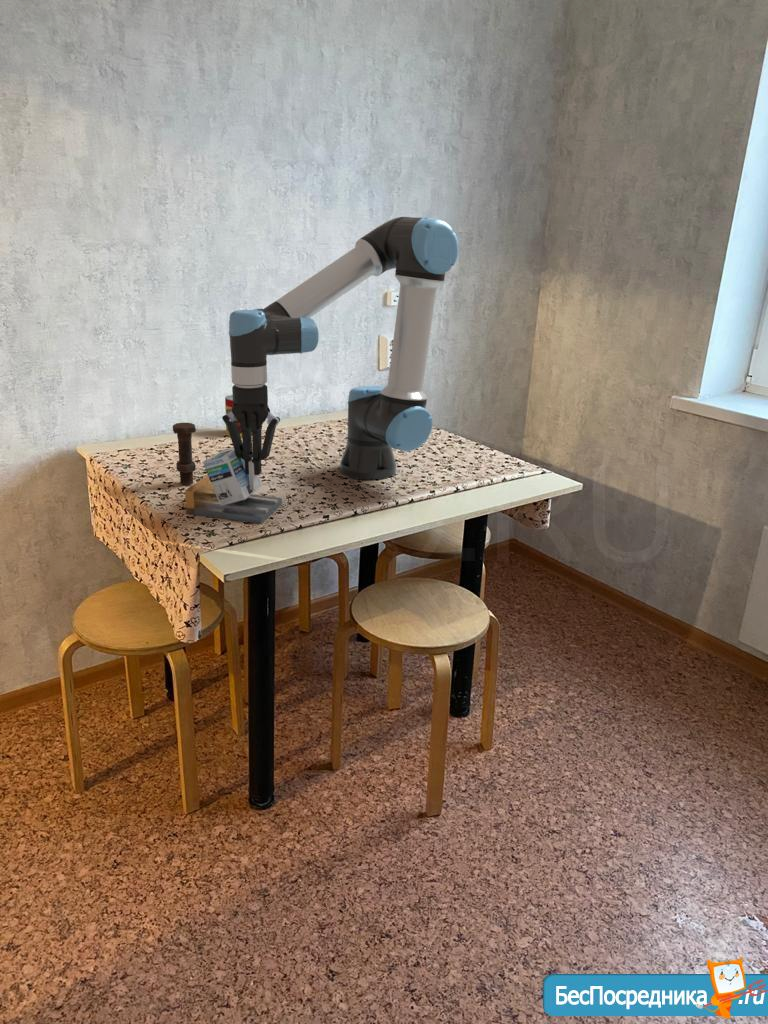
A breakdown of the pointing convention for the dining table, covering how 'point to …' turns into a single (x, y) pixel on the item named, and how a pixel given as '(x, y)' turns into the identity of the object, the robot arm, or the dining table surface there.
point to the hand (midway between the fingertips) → (253, 487)
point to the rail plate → (248, 510)
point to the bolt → (185, 451)
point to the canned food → (228, 409)
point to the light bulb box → (229, 477)
